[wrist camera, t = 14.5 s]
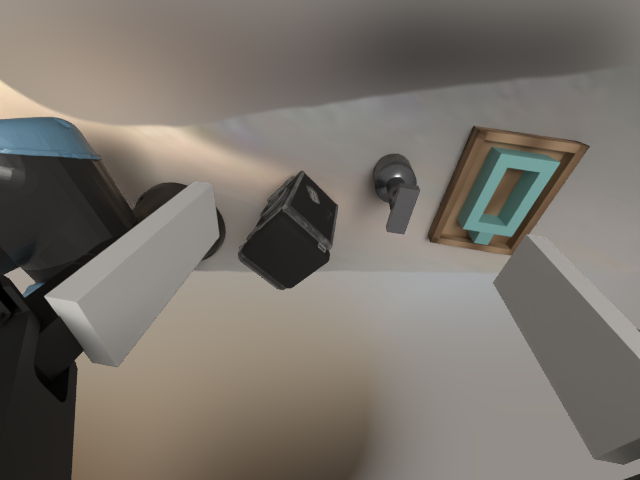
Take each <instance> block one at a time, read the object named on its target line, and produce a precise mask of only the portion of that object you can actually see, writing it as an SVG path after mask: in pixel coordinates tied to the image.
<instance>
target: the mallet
mask: <svg viewBox="0 0 640 480" xmlns="http://www.w3.org/2000/svg"><path fill="white" fill-rule="evenodd" d="M374 179H375V189H376V193H377V195H378V196H379V197H380V198H381V199H382V200H383V201H385V202H388V203H389V205H390V210H391V211H390V215H389V218H388V221H387V224H386V230H387V232H392V233H398V234H405V231H406V228H407V225H408V223H409V220H410V217H411V214H412V211H413V209H414V206H415V203H416V200H417V198H418V195H419V192H420V189H419V187H418V186H416V184H417V181H416V177H415V175H414V172H413V170H412V168H411V165H410V163H409V161H408V160H407V159H406V158H405V157H404V156H402V155H400V154H389V155H386V156H384V157H382V158H381V159H380V160H379V161H378V162H377V164H376V166H375V169H374Z"/></svg>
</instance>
